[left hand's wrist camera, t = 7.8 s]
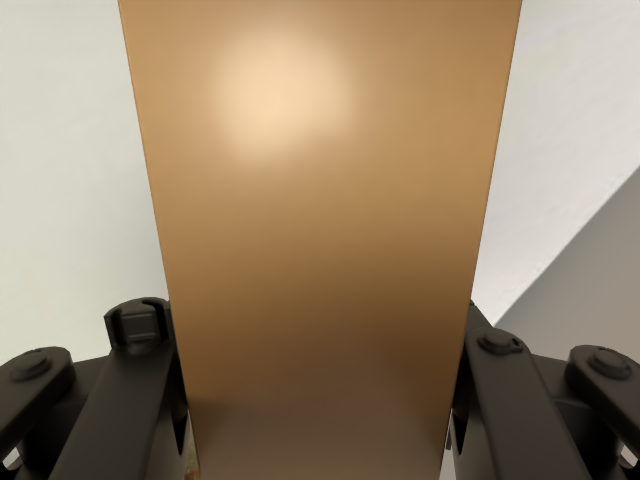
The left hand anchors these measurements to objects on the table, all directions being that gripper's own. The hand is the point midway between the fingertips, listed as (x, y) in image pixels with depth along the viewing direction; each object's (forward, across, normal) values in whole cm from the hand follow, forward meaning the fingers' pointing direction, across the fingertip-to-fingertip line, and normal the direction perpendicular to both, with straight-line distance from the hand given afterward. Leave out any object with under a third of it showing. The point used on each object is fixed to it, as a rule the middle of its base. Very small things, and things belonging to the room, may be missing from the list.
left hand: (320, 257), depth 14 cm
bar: (+1, 0, -7) cm, 7 cm away
